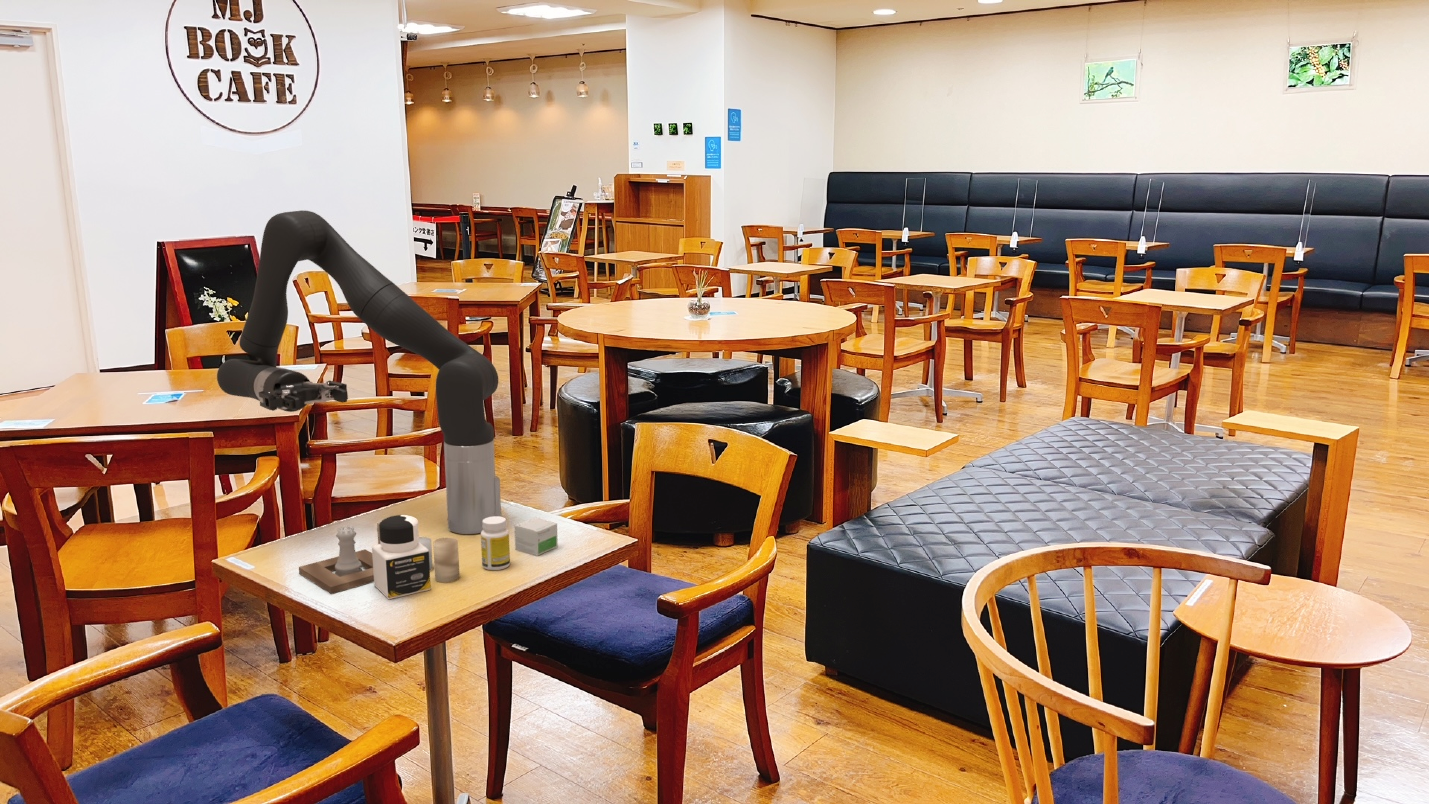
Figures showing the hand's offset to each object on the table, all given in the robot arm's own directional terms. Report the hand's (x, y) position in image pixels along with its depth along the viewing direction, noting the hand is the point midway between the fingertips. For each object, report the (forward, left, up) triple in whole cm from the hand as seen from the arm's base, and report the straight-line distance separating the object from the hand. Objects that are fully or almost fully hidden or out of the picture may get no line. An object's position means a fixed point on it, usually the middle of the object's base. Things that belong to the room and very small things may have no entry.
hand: (321, 400), depth 179 cm
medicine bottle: (0, +25, -28) cm, 37 cm away
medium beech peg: (-7, +27, -27) cm, 39 cm away
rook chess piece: (+4, +14, -28) cm, 31 cm away
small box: (-26, +26, -28) cm, 46 cm away
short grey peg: (-6, +20, -27) cm, 34 cm away
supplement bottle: (-16, +28, -28) cm, 42 cm away
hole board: (+4, +14, -27) cm, 31 cm away
